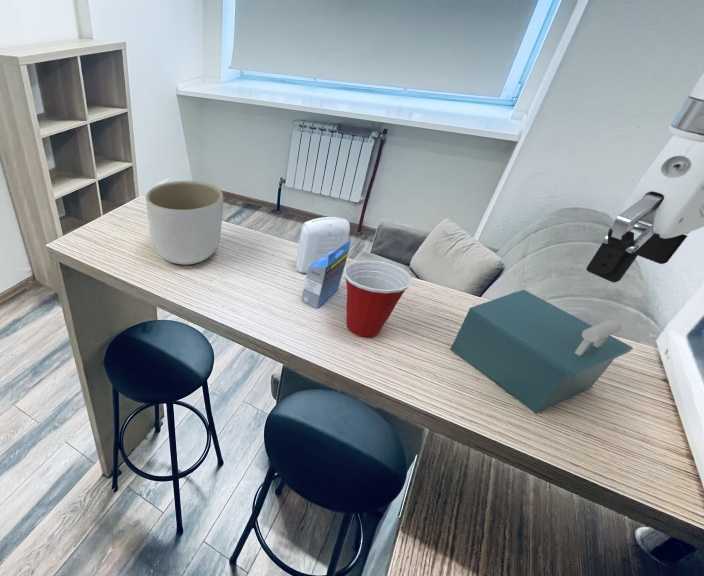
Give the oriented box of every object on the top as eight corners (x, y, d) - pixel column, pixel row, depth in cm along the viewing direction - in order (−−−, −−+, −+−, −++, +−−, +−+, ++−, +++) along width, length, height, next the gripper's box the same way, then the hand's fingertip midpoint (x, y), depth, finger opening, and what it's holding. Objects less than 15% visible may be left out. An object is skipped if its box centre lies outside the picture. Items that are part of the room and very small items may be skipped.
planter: (235, 253, 98) (239, 193, 89) (186, 282, 88) (184, 218, 80) (186, 231, 108) (184, 175, 99) (136, 255, 98) (129, 195, 89)
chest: (591, 387, 63) (623, 348, 58) (536, 414, 59) (565, 374, 54) (500, 330, 74) (521, 293, 69) (449, 349, 70) (467, 311, 65)
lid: (630, 351, 57) (653, 323, 54) (572, 378, 54) (594, 349, 51) (521, 293, 69) (535, 267, 66) (468, 311, 65) (480, 284, 62)
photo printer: (335, 261, 94) (346, 212, 87) (343, 271, 91) (355, 220, 84) (292, 265, 93) (299, 215, 86) (299, 275, 90) (307, 224, 83)
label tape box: (322, 283, 87) (332, 231, 80) (340, 290, 85) (352, 238, 78) (300, 301, 82) (309, 248, 75) (318, 310, 80) (329, 255, 73)
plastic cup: (368, 304, 81) (383, 252, 74) (406, 339, 72) (428, 283, 65) (320, 315, 78) (331, 262, 71) (354, 352, 70) (370, 296, 63)
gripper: (737, 141, 35) (619, 301, 45) (827, 119, 40) (704, 266, 50) (631, 122, 40) (547, 267, 50) (722, 105, 46) (630, 239, 56)
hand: (625, 267), depth 50 cm, fingers open, 9 cm apart
